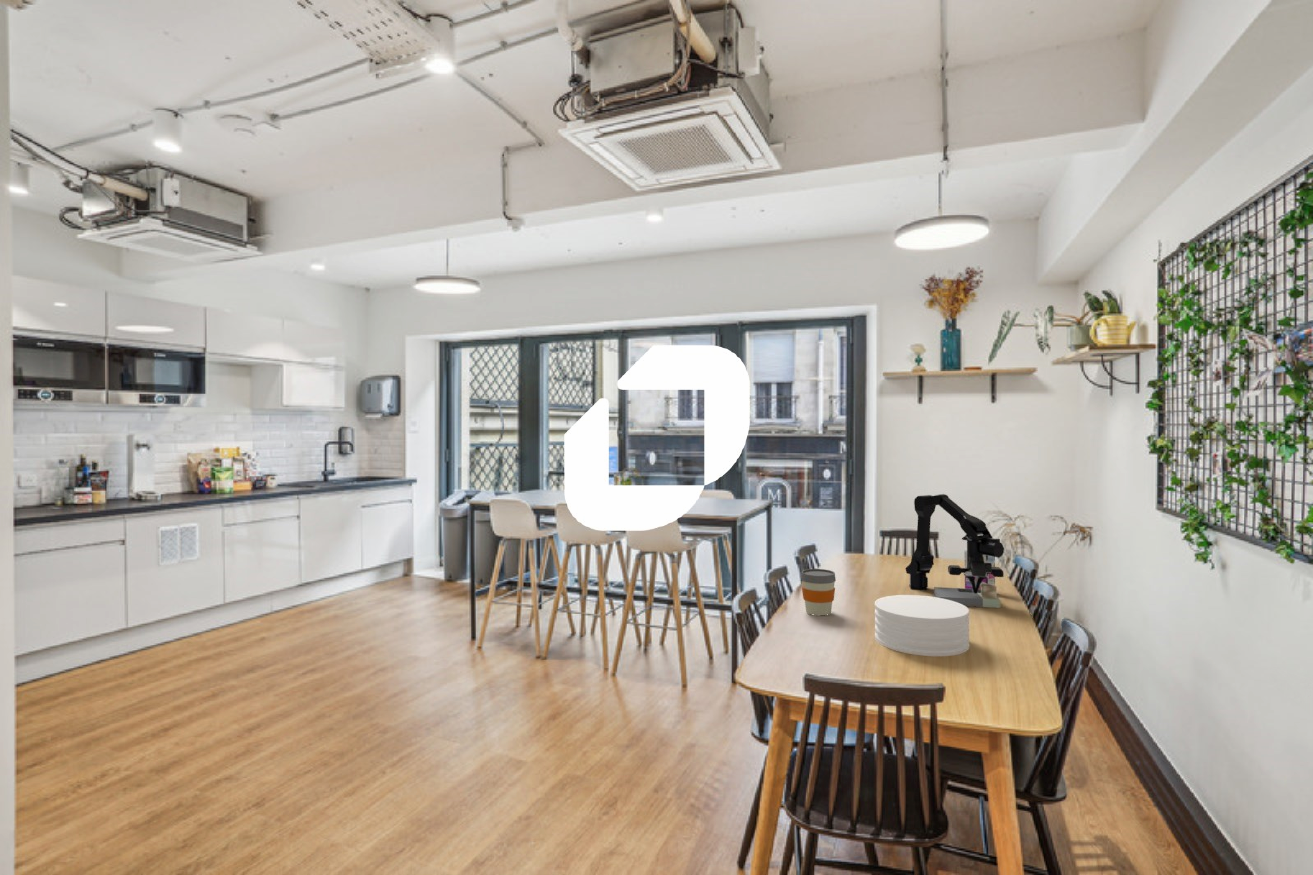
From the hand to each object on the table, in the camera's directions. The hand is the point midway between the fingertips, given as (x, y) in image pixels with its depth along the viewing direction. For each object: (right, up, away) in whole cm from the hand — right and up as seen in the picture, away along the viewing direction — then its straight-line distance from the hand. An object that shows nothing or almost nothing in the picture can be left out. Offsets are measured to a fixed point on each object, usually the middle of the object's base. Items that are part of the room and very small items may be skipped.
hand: (975, 593), depth 253 cm
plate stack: (-38, -6, -43) cm, 58 cm away
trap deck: (-2, -4, +4) cm, 6 cm away
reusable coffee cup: (-63, -5, -9) cm, 64 cm away
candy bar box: (+11, -4, +19) cm, 23 cm away
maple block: (+4, -1, -2) cm, 5 cm away
